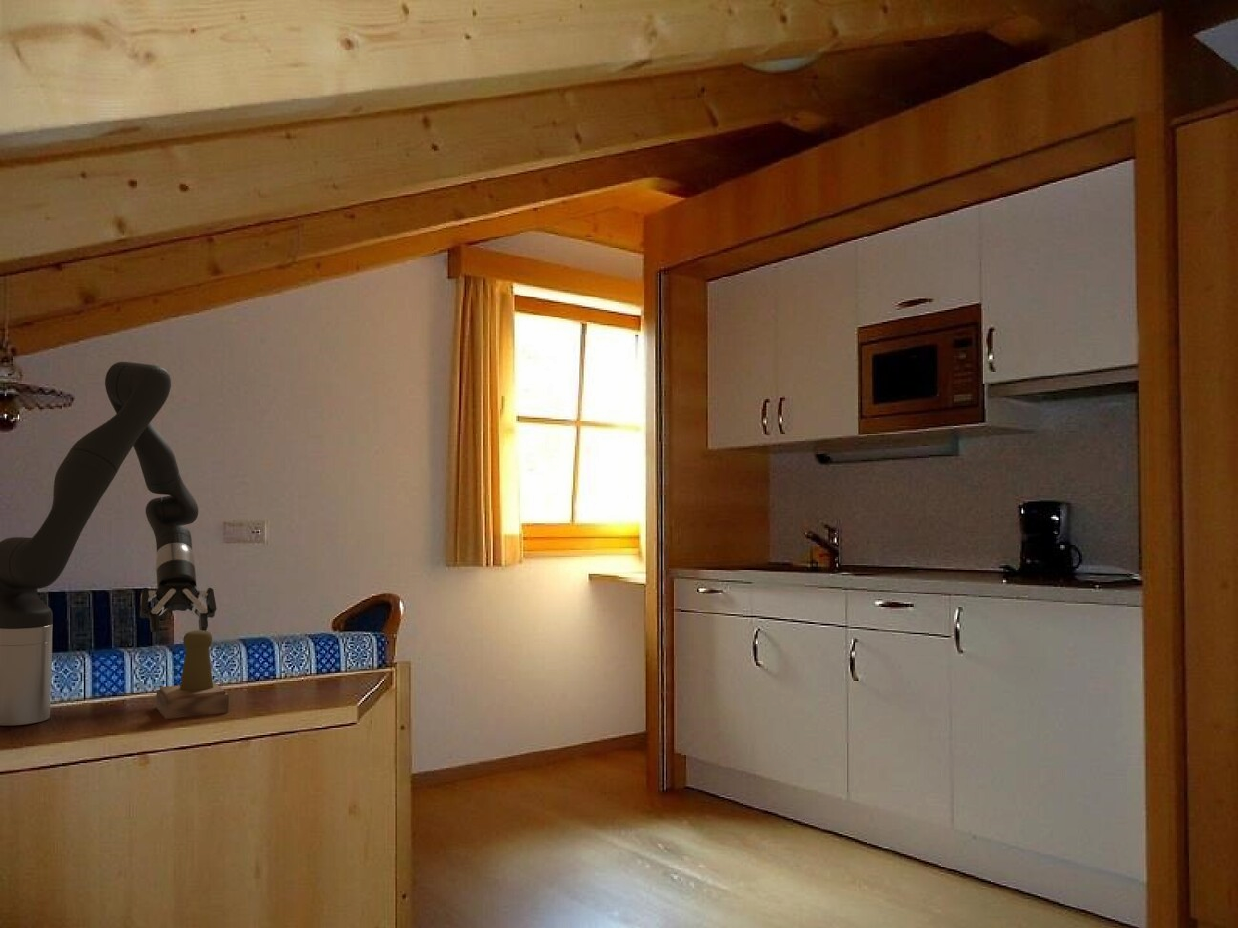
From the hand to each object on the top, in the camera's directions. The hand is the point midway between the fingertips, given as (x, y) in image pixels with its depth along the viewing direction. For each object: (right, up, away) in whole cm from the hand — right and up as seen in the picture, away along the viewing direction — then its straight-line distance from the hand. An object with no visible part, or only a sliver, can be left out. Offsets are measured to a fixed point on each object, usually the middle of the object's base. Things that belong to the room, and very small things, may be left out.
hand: (180, 632), depth 201 cm
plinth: (+7, -13, -10) cm, 18 cm away
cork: (+7, -10, -9) cm, 15 cm away
